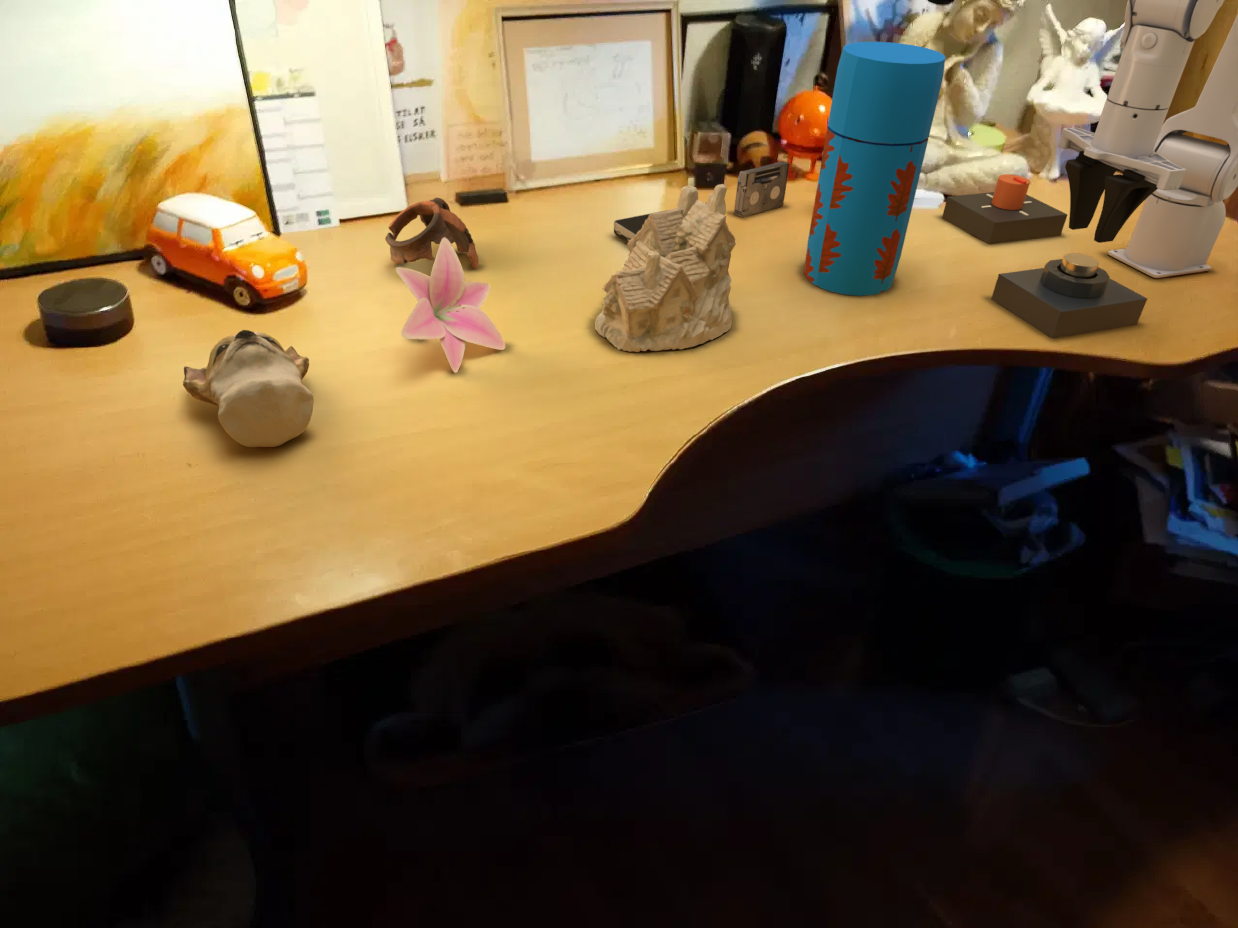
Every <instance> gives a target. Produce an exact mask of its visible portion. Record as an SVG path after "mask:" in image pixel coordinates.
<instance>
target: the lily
mask: <svg viewBox="0 0 1238 928" xmlns="http://www.w3.org/2000/svg"><path fill="white" fill-rule="evenodd" d="M435 255H436V256H435V259H434V262H433V265H432V268H431V272H430V275H428V274H425V273H423V272H421V271H417V270H414V269H411V268H407V267H402V266H397V267H396V268H395V270H396V273H397V274H398V276H399V277H400V278H401V280H402V282H403V283H404V285H405V286H406V288H407V289H408V290H409V291H410V293H411V294H412V296H413V297H414V298H415V299H416V301H417V302H416V304H415V305H414V308H413V309H412V311H411V312H410V314H409V315H408V317H407V319H406V320H405V322H404V323H403V326H402V328H401V331H400V335H401V337H403V338H404V339H408V340H418V341H420V340H439V342H440V345H441V347H442V349H443V352H444V354H445V357H446V359H447V361H448V364H449V365H450V367H451V370H452V372H454V373H455V374H456V373H457V372H458V371H459V369H460V367H461V365H462V362H463V359H464V355H465V350H466V342H468V343H471V344H474V345H479V346H483V347H486V348H490V349H494V350H499V351H503V350H505V349H506V343H505V341H504V338H503V336H502V334H501V333H500V332H499V330H498V328H497V326H496V325H495V324H494V322H493V321H492V319H491V318H490V316H488V314H487V313H486V312H484V311H483V309H481V308H482V306H483V305H484V303H485V302H486V300H487V298H488V296H489V293H490V291H491V285H490V284H489V283H488V282H484V281H483V282H482V281H466V278H465V277H466V276H465V272H464V269H463V266H462V264H461V263H462V262H461V261H460V259H459V256H458V254H457V253H456V250H455V248H454V247H453V245H452V244H451V243H450V242H449V240H448V239H447V238H445V237H444V238H442V240H441V242H440V244H438V249H437V252H436V254H435Z"/></svg>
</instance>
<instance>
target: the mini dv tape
mask: <svg viewBox="0 0 1238 928" xmlns="http://www.w3.org/2000/svg"><path fill="white" fill-rule="evenodd" d="M789 169H790V163H789V162H786V161H779V162H774V163H771V164H767V165H763V166H762V165H761V166H758V167H754V168H750V169H746V170H741V171H739V174H738V177H737V186H736V192H735V200H734V201H735V202H734V208H733V209H734V210H733V215H736V216H738V217H740V218H745V217H748V216H749V217H750V216H752V215H756V214H759V213H763V212H767V211H770V210H774V209H778V208H782V207H784V204H785V196H786V191H787V190H786V189H787V184H788V183H787V182H788V176H789Z"/></svg>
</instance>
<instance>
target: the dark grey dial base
mask: <svg viewBox="0 0 1238 928" xmlns="http://www.w3.org/2000/svg"><path fill="white" fill-rule="evenodd" d="M994 192H995V191H991V192H981V193H972V194H971V193H969V194H959V195H951V196H946V200H945V203H944V207H943V208H944V209H943V212H942V216H941V218H942V219H944V220H946V221H947V222H949V223H951V224H952V225H954V226H956V227H958V228H959V229H961V230H963V231H965V232H967V233H968V234H970V235H972V236H973V237H975V238H976V239H979V240H980V241H981V242H984V243H986V244H987V245H994V244H1003V243H1004V244H1005V243H1011V242H1019V241H1020V242H1021V241H1027V240H1029V241H1030V240H1036V239H1044V238H1052V237H1053V238H1054V237H1061V235H1062V232H1063V229H1064V228H1065V227H1064V226H1065V224H1066V221H1067V218H1068V213H1065V212H1063V211H1062V210H1059V209H1058V208H1055V207H1053V206H1051V205H1049V204H1047V203H1046V202H1044V201H1041V200H1039V199H1037V198H1035V197H1033V196H1031V195H1028V194H1026V197H1025V200H1024V204H1023V207H1022V208H1021V209H1019V210H1007V209H1002V208H998V207H996V206H994V205H993V204H992V199H993V195H994Z"/></svg>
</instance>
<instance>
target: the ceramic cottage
mask: <svg viewBox="0 0 1238 928" xmlns="http://www.w3.org/2000/svg"><path fill="white" fill-rule="evenodd" d="M727 190H728V187H727V185H725V184H724V183H721V184H720V183H719V184H717V185H715V187H714V188H713V192H711V193H709V194H708V196H707V199H706V201H705V202H703V201H702V200H700V199H699V191H698V188H697V187H695V186H694V185H691V184H690V185H685V186H682V188H681V189H680V192H679V196H678V201H677V206H676V207H675V208H671V209H672V210H671V209H667V210H668V211H665V210H663V211H664V212H660V211H657V212H658V213H655V212H652V213H653V214H650V213H649V214H650V215H649V217H648V219H646V220H645V223H644V225H642V228H641V230H639V231H638V232H637V234H636V235H635V237H633V238H632V239H631V240H630V241H629V242H626V243H627V244H626V245H627V250H628V251H629V253H628V255H627V260H625V262H624V264H623V267H622V268H621V270H617V271H616V272H615V273H614V274H613V275H611V276H610V278H609V280H608V281H607V282H605V284H604V285H603V286H602V288H601V289H602V291H604V292H605V297H604V298H603V304H602V307H601V308H602V311H601V312H599V313H598V314H599V315H596V318H595V323H594V330H596V332H597V333H598V335H600V336H602V337H603V338H606V339H607V341H608V342H609V343H611V344H612V345H613V347H615V348H617V350H618V351H620V350H621V351H624V352H627V351H628V353H630V352H635V353H639V352H640V351H642V352H647V350H650V351H651V352H653V351H654V352H658V351H663V350H664V351H666V350H676V349H678V350H684V349H689V348H693V347H696V346H698V345H702V344H705V343H706V342H709V341H713V340H714V339H717V338H718V337H720V336H722V335H723V334H724V333H725V334H726V333H727V332H728V331H729V330H730V331H731V328H732V324H733V323H732V322H733V319H732V317H733V316H732V309H731V302H730V293H731V289H732V287H731V283H732V281H733V279H732V277H731V275H730V272H729V269H730V264H731V263H730V262H731V258H732V252H733V250H734V248H735V246H736V244H737V243H736V237H735V236H734V234H733V233H732V232H731V230H730V229H729V226H728V223H727V215H726V213H727V205H726V199H725V198H726V194H727Z"/></svg>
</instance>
